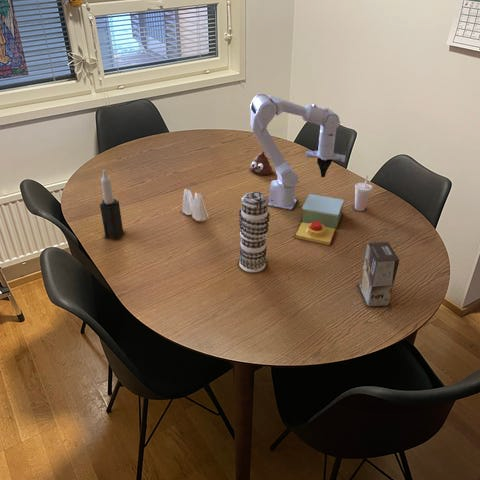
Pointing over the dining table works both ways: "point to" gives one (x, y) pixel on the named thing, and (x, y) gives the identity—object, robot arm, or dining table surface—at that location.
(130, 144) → the dining table surface
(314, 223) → the button
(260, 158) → the cartoon dung pile
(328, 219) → the panel
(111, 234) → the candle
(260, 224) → the plaid banded cylinder
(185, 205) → the shaker set
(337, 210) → the pale blue lid
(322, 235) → the yellow button base
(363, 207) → the smoothie
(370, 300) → the coffee box
